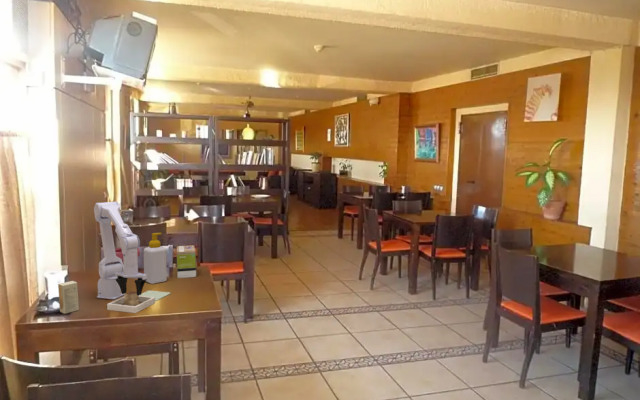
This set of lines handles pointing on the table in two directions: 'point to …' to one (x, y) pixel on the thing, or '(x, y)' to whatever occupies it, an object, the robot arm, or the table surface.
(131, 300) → the birch block
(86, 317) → the table surface
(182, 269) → the tea box
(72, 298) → the skincare box
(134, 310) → the white bin
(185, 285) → the table surface
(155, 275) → the soap bottle
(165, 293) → the sage tile
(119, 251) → the plant pot
